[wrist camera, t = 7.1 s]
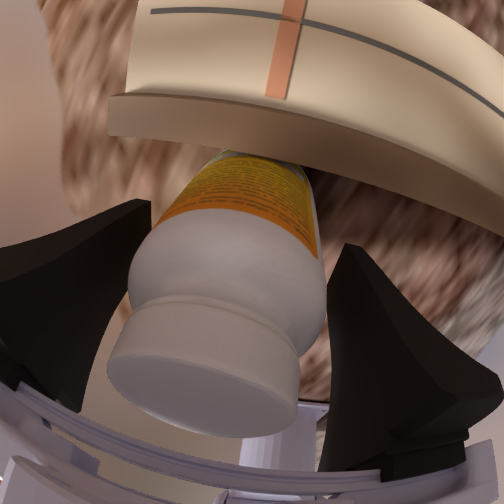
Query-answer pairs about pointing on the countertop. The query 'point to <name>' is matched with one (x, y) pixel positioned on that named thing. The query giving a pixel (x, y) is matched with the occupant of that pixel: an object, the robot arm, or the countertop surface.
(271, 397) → the supplement bottle
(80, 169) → the countertop surface
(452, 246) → the countertop surface
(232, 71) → the board
